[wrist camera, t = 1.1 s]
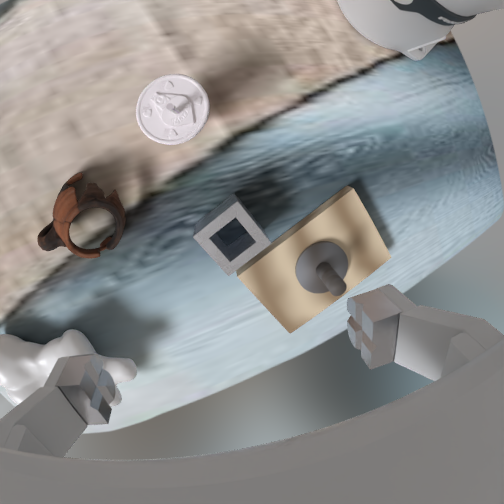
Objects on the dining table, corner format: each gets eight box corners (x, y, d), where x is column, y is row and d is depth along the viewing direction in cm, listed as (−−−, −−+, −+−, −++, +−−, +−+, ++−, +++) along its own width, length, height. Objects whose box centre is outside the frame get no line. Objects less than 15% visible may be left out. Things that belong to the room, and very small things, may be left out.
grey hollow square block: (234, 192, 35) (237, 201, 31) (263, 229, 38) (271, 243, 33) (195, 223, 36) (193, 236, 32) (226, 258, 38) (228, 276, 34)
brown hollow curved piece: (96, 152, 32) (103, 176, 26) (131, 205, 39) (145, 237, 34) (24, 208, 30) (18, 244, 24) (65, 253, 37) (69, 292, 31)
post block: (346, 185, 37) (377, 198, 29) (384, 252, 41) (414, 275, 34) (236, 269, 39) (242, 301, 32) (286, 325, 43) (300, 361, 36)
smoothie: (187, 153, 33) (172, 163, 20) (144, 124, 31) (104, 117, 18) (221, 110, 32) (227, 91, 19) (177, 80, 30) (157, 45, 17)
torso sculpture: (41, 383, 45) (164, 381, 44) (20, 420, 36) (151, 433, 34) (0, 321, 39) (121, 300, 38) (-30, 355, 30) (91, 351, 28)
